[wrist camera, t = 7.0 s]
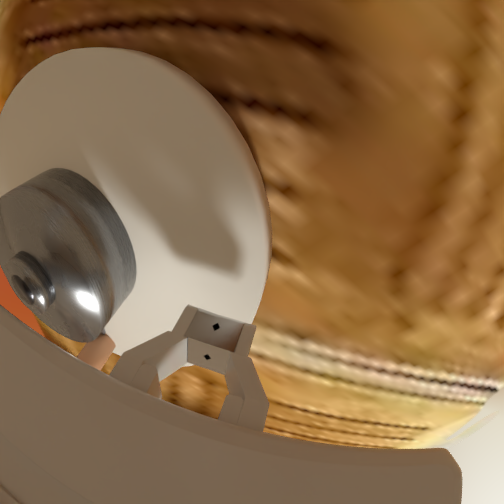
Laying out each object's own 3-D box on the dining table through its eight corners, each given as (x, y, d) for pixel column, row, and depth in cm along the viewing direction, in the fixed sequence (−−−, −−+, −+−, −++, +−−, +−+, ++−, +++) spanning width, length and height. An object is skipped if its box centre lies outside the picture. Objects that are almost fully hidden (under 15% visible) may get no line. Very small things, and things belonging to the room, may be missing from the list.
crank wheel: (4, 71, 10) (-62, 92, 6) (322, 62, 9) (326, 34, 4) (40, 292, 22) (5, 331, 18) (238, 377, 21) (216, 444, 16)
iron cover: (20, 161, 12) (-38, 194, 8) (132, 181, 11) (56, 235, 7) (46, 276, 17) (8, 316, 13) (143, 321, 16) (106, 379, 12)
